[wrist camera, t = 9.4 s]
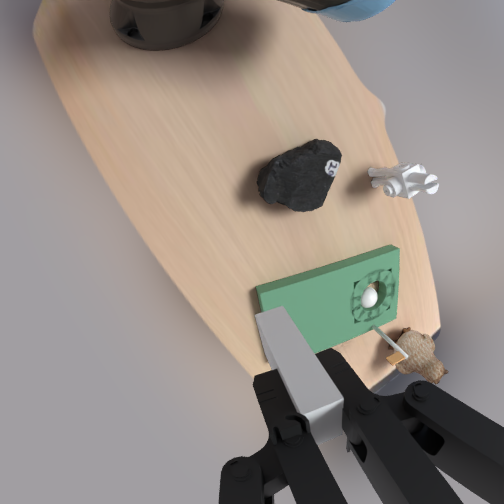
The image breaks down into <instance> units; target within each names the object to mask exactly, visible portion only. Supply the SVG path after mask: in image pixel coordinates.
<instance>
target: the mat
mask: <svg viewBox="0 0 504 504" xmlns="http://www.w3.org/2000/svg"><path fill="white" fill-rule="evenodd" d="M399 253H400V249H399V248H397V247H395V246H393V245H388V246H385V247H382V248H379V249H376V250H373V251H370V252H367V253H363V254H360V255H357V256H354V257H351V258H348V259H345V260H342V261H339V262H335V263H332V264H329V265H326V266H323V267H319V268H316V269H313V270H310V271H306V272H303V273H300V274H297V275H293V276H290V277H287V278H283V279H280V280H276V281H273V282H270V283H266V284H263V285H259V286H256V290H257V295H258V299H259V304H260V308H261V313H262V312H265V311H268V310H271V309H274V308H277V307H280V306H283V307H284V308H285V310H286V311H287V313H288V314H289V316H290V317H291V319H292V320H293V322H294V323H295V325H296V326H297V328H298V329H299V331H300V333H301V334H302V336H303V337H304V339H305V340H306V342H307V343H308V345H309V346H310V348H311V349H312V351H313V352H314V353H317V352H320V351H322V350H325V349H328V348H330V347H333V346H335V345H338V344H340V343H343V342H345V341H347V340H350V339H352V338H355V337H357V336H359V335H361V334H364V333H366V332H368V331H370V330H373V329H374V330H375V331H376V332H377V333H378V334H379V335H381V336H382V337H383V338H384V339H385V340H386V341H387V342H388V343H389V344H390V345H391V346H392V347H393V348H394V349H395V350H396V351H398V352H396V353H394V354H392V355H390V356H389V357H387V358H386V359H387V360H388V361H389V362H390V364H391V365H392V366H393V365H395V364H396V363H398V362H400V361H402V360H404V359H407V358H408V355H407V354H406V353H405V352H404V351H403V350H402V349H401V348H400V347H399V346H398V345H397V344H395V343H394V342H393V341H392V340H391V339H390V338H389V337H388V336H387V335H386V334H384V333H383V332H382V331H381V330H380V329H379V328H378V327H379V326H381V325H384V324H386V323H388V322H390V321H392V320H394V319H396V315H397V302H398V286H399ZM375 281H379V290H378V292H377V301H376V303H375V304H374V305H373V306H372V307H369V308H365V307H362V306H361V296H362V294H363V291H364V289H365V288H366V287H367V286H368V285H369V284H370V283H372V282H375Z"/></svg>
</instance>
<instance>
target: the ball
mask: <svg viewBox="0 0 504 504" xmlns="http://www.w3.org/2000/svg"><path fill="white" fill-rule="evenodd" d="M376 301H377V293H376V291H375V290H374V289H373V288H371V287H366V288H365V289H364V291H363V294H362V296H361V306H362V307H365V308H369V307H372V306H373V305H374V304H375V303H376Z"/></svg>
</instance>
